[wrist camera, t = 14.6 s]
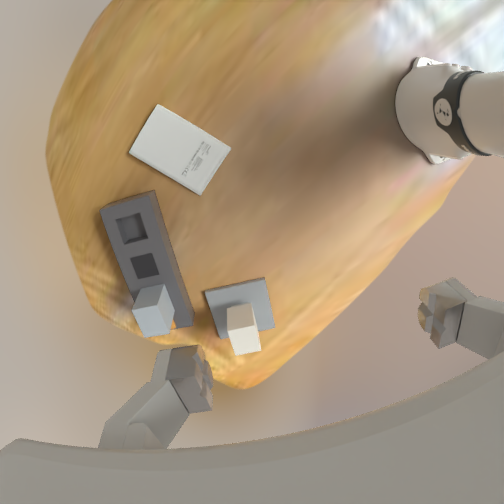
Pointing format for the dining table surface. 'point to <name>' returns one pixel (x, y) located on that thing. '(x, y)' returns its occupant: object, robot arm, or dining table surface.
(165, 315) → the block
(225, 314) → the rubber mat
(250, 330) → the block
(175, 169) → the external hard drive
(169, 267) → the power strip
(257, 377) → the dining table surface
